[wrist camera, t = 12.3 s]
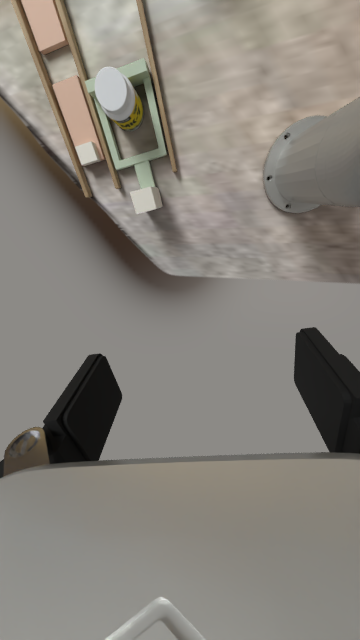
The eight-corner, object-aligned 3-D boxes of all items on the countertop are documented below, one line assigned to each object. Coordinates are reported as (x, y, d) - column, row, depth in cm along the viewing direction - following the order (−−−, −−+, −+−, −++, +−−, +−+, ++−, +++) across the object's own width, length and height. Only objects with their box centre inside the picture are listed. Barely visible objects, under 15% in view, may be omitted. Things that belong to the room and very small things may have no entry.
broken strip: (39, -48, 28) (26, -68, 26) (106, 160, 38) (100, 158, 36) (12, -34, 29) (-3, -52, 27) (84, 167, 38) (78, 166, 36)
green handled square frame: (148, 68, 32) (136, 39, 26) (177, 202, 40) (173, 204, 34) (93, 90, 34) (69, 66, 27) (131, 215, 41) (120, 218, 35)
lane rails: (117, -119, 25) (113, -137, 24) (177, 171, 38) (176, 170, 36) (-4, -53, 28) (-14, -65, 27) (89, 197, 41) (85, 197, 39)
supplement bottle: (127, 139, 36) (109, 125, 29) (107, 107, 35) (82, 84, 27) (150, 116, 35) (137, 95, 27) (130, 81, 33) (111, 49, 26)
